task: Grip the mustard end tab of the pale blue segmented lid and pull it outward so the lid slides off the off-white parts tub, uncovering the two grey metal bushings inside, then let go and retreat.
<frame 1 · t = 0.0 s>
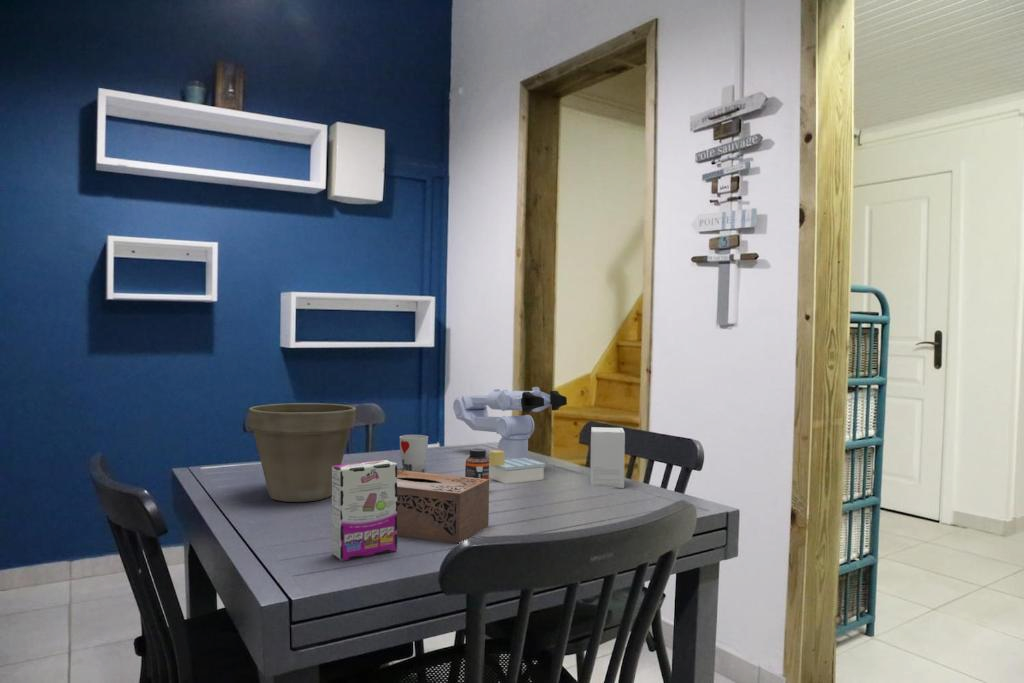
hand: (554, 401, 197), 22 cm above the table, tool horizontal, fingers open, 7 cm apart
tissue box cover: (417, 528, 149), on the table
tub: (516, 480, 196), on the table
plant pot: (302, 496, 174), on the table
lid: (514, 457, 195), point 6 cm above the table, slide at 0.0 cm
bushing b: (510, 480, 193), point 1 cm above the table, touching tub
candy bar box: (363, 554, 131), on the table
cup: (413, 472, 206), on the table
supplement box: (606, 485, 194), on the table
supplement bottle: (476, 495, 179), on the table
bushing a: (521, 476, 199), point 1 cm above the table, touching tub
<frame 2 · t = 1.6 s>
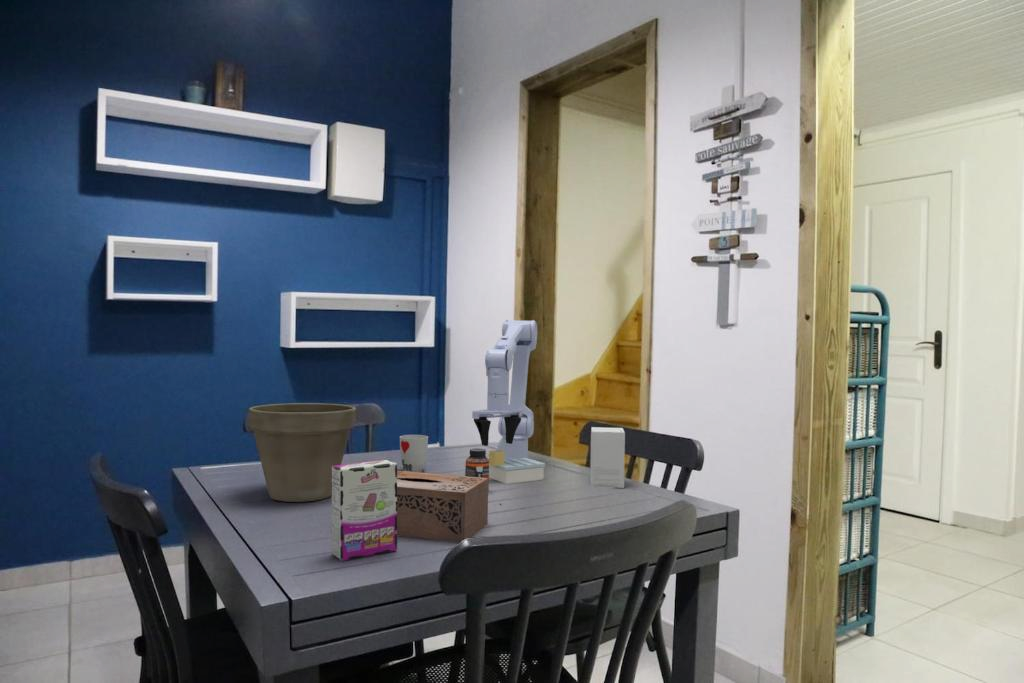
hand: (497, 444, 192), 10 cm above the table, tool pointing down, fingers open, 7 cm apart
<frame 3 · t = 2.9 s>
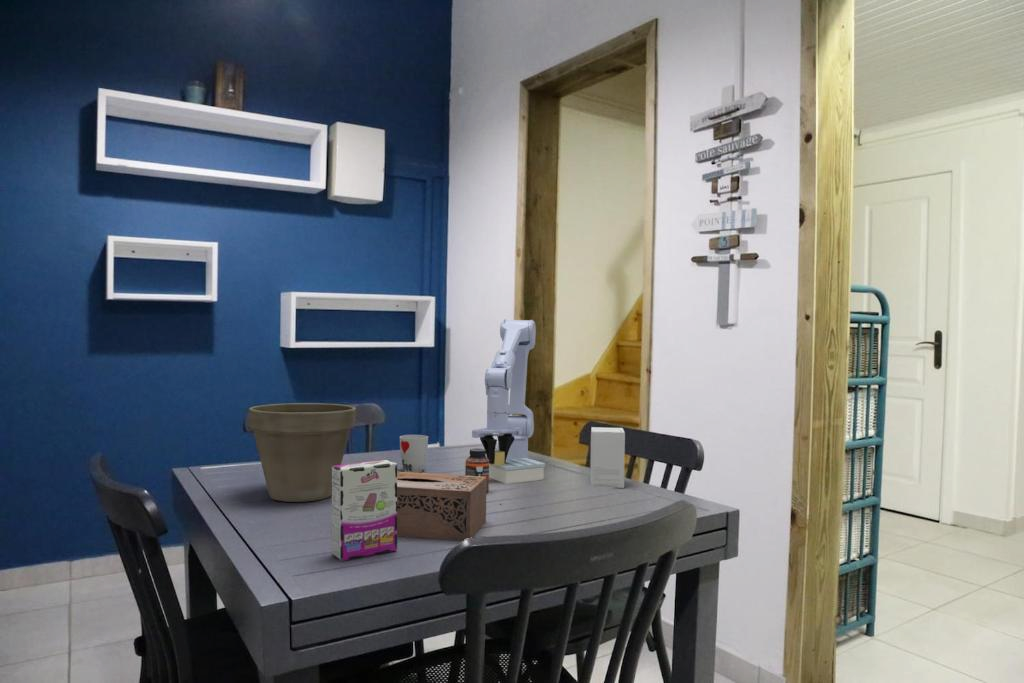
hand: (496, 462, 192), 5 cm above the table, tool pointing down, fingers closed on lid, 3 cm apart
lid: (514, 457, 195), point 6 cm above the table, slide at 0.0 cm, touching gripper
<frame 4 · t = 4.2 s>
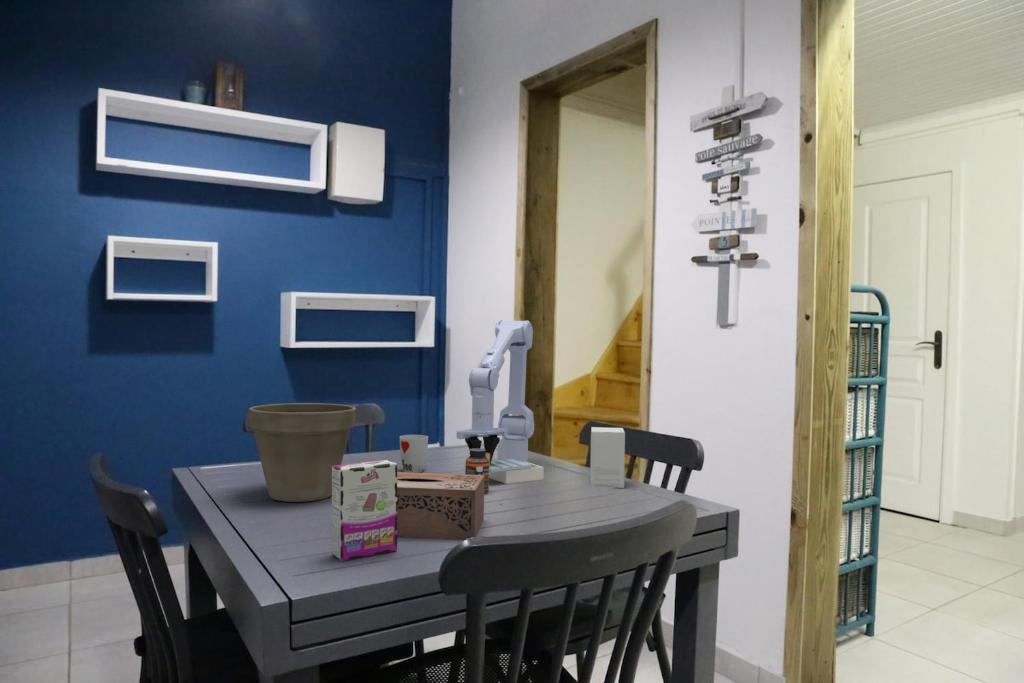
hand: (481, 464, 190), 5 cm above the table, tool pointing down, fingers closed on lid, 3 cm apart
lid: (499, 459, 193), point 6 cm above the table, slide at 4.6 cm, touching gripper
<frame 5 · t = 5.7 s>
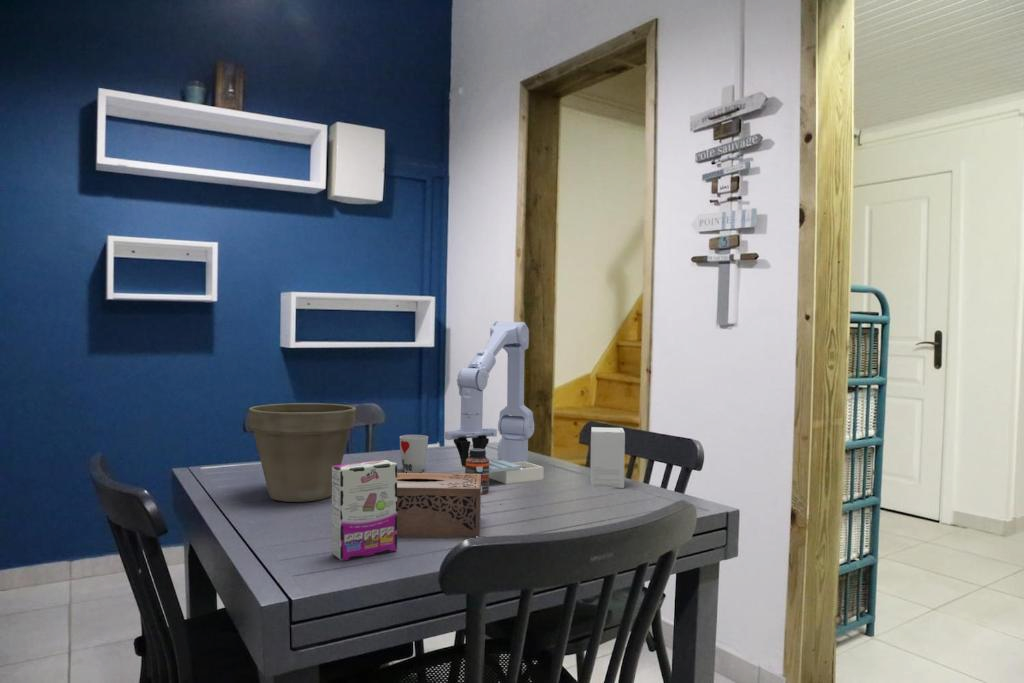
hand: (470, 465, 188), 5 cm above the table, tool pointing down, fingers closed on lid, 3 cm apart
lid: (489, 460, 191), point 6 cm above the table, slide at 8.0 cm, touching gripper
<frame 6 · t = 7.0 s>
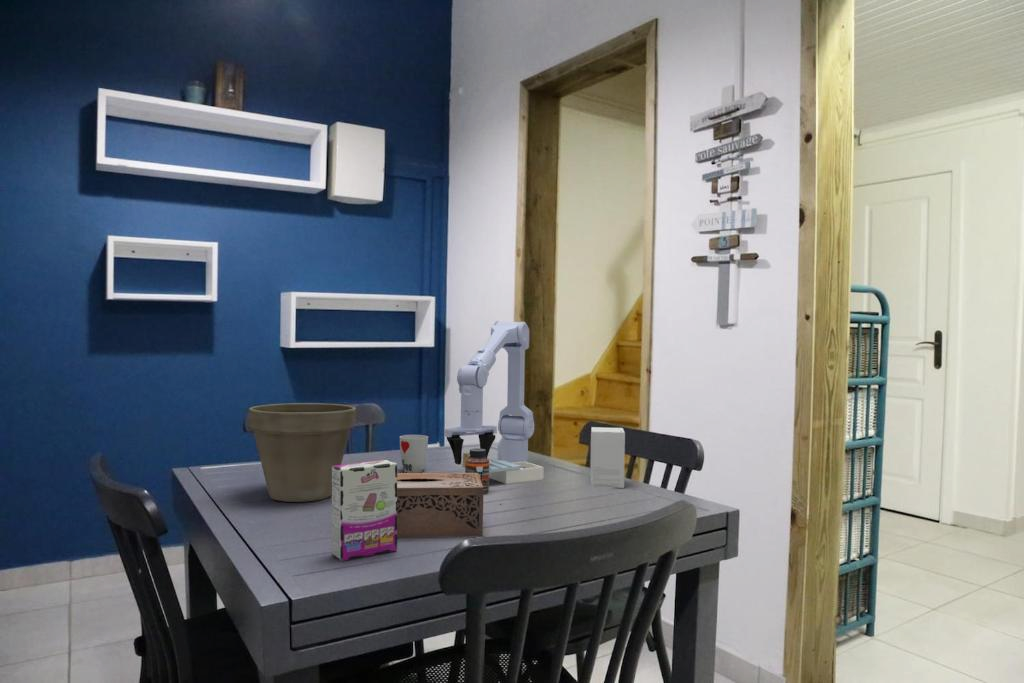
hand: (470, 462, 188), 6 cm above the table, tool pointing down, fingers open, 7 cm apart
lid: (488, 460, 191), point 6 cm above the table, slide at 8.0 cm
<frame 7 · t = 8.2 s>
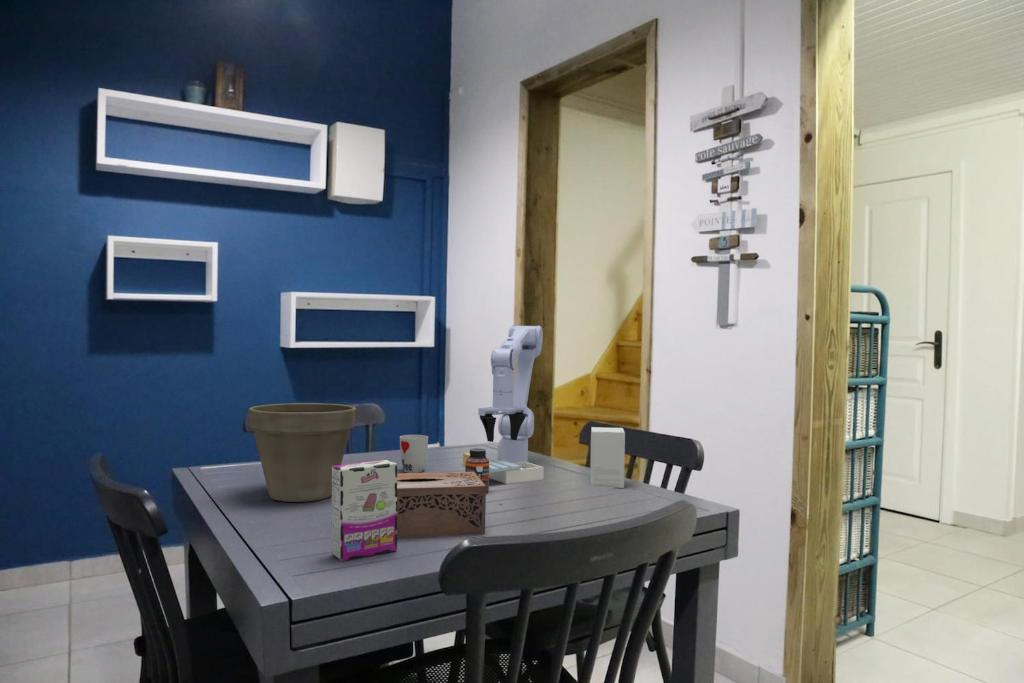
hand: (502, 440, 199), 10 cm above the table, tool pointing down, fingers open, 7 cm apart
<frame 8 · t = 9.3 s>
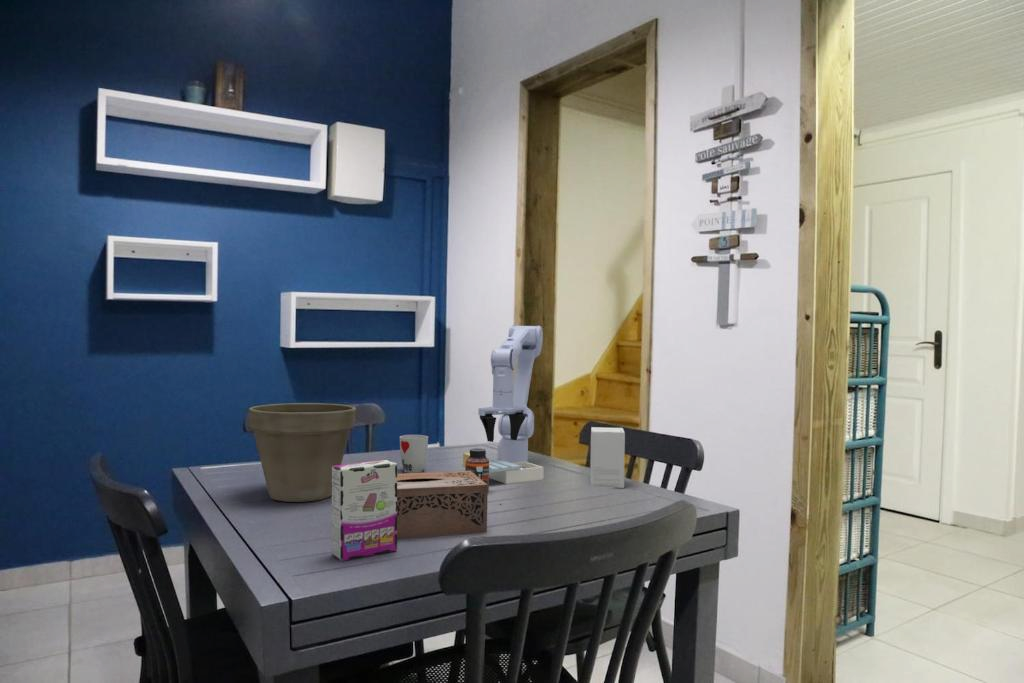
hand: (502, 440, 199), 10 cm above the table, tool pointing down, fingers open, 7 cm apart
at the end: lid slide at 8.0 cm; the gripper is holding nothing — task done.
